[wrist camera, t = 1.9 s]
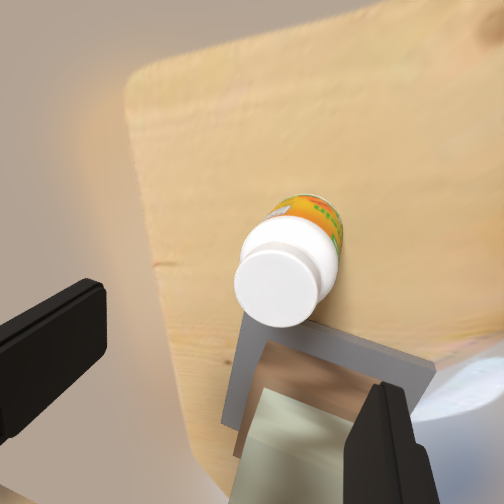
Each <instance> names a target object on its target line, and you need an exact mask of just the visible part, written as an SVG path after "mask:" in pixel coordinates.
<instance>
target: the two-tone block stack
mask: <svg viewBox="0 0 504 504" xmlns="http://www.w3.org/2000/svg"><path fill="white" fill-rule="evenodd" d="M380 382H382V381H381V380H378V379H376V378H373V377H370V376H367V375H365V374H362V373H359V372H356V371H354V370H351V369H348V368H345V367H343V366H340V365H337V364H334V363H332V362H329V361H326V360H323V359H321V358H318V357H315V356H312V355H310V354H307V353H304V352H301V351H299V350H296V349H293V348H290V347H288V346H285V345H282V344H279V343H277V342H274V341H271V340H267V342H266V345H265V347H264V350H263V352H262V354H261V357H260V359H259V362H258V364H257V367H256V369H255V371H254V374H253V378H252V382H251V386H250V390H249V394H248V398H247V402H246V406H245V410H244V414H243V418H242V421H241V425H240V429H239V433H238V437H237V441H236V445H235V449H234V453H233V456H235V457H238V458H240V459H241V460H240V463H239V467H238V471H237V474H236V478H235V482H234V485H233V489H232V492H231V496H230V500H229V503H228V504H343V452H344V445H345V441H346V439H347V437H348V435H349V433H350V431H351V428H352V426H353V424H354V422H355V420H356V418H357V416H358V414H359V412H360V410H361V408H362V406H363V404H364V402H365V400H366V398H367V396H368V393H369V391H370V389H371V387H372V385H373V384H378V385H379V384H380Z"/></svg>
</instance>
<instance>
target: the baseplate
mask: <svg viewBox="0 0 504 504" xmlns="http://www.w3.org/2000/svg"><path fill="white" fill-rule="evenodd" d="M267 340H271V341H274V342H277V343H279V344H282V345H285V346H288V347H290V348H293V349H296V350H299V351H301V352H304V353H307V354H310V355H312V356H315V357H318V358H321V359H323V360H326V361H329V362H332V363H334V364H337V365H340V366H343V367H345V368H348V369H351V370H354V371H356V372H359V373H362V374H365V375H367V376H370V377H373V378H376V379H378V380H381V381H385V382H387V383H390V384H393V385H396V386H399V387H402V388H403V389H404V392H405V397H406V401H407V406H408V410H409V415H411V413H412V412H413V410H414V408H415V407H416V405H417V403H418V402H419V400H420V398H421V397H422V395H423V393H424V392H425V390H426V388H427V387H428V385H429V383H430V382H431V380H432V378H433V377H434V375H435V374H436V369H435V366H434V363H433V362H430V361H427V360H424V359H421V358H418V357H415V356H413V355H410V354H407V353H404V352H401V351H398V350H395V349H392V348H389V347H386V346H383V345H380V344H377V343H374V342H371V341H369V340H366V339H363V338H360V337H357V336H354V335H351V334H348V333H345V332H342V331H339V330H336V329H333V328H330V327H327V326H324V325H322V324H319V323H316V322H313V321H310V320H307V319H306V320H304V321H303V322H301V323H299V324H297V325H295V326H291V327H284V328H280V327H272V326H268V325H265V324H262V323H260V322H258V321H256V320H255V319H253V318H252V317H251V316H249V315H248V314H247V313H246V312H245V311H244V315H243V320H242V324H241V329H240V334H239V338H238V343H237V348H236V353H235V357H234V362H233V367H232V372H231V376H230V381H229V386H228V391H227V395H226V400H225V405H224V409H223V414H222V419H221V424H223V425H226V426H228V427H230V428H232V429H235V430H237V431H239V429H240V425H241V421H242V418H243V414H244V410H245V406H246V402H247V398H248V394H249V390H250V386H251V382H252V378H253V374H254V371H255V369H256V367H257V364H258V362H259V359H260V357H261V354H262V352H263V350H264V347H265V345H266V342H267Z"/></svg>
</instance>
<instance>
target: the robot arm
mask: <svg viewBox="0 0 504 504" xmlns="http://www.w3.org/2000/svg"><path fill="white" fill-rule="evenodd" d="M106 304H107V303H106V290H105V289H104V286H103V284H102V283H100V282H97V281H94V280H91V279H88V278H85V279H82V280H80V281H78V282H77V283H75V284H73V285H71V286H70V287H68V288H66V289H64V290H63V291H61V292H59V293H57V294H55V295H54V296H52V297H50V298H48V299H46V300H45V301H43V302H41V303H39V304H38V305H36V306H34V307H32V308H31V309H29V310H27V311H25V312H24V313H22V314H20V315H18V316H16V317H14V318H13V319H11V320H9V321H7V322H6V323H4V324H2V325H0V445H2V444H3V443H4V442H5V441H6V440H7V439H8V438H13V437H14V436H16V435H17V434H19V433H20V432H21V431H22V430H23V429H24V428H25V427H26V426H27V425H28V424H30V423H31V422H32V421H33V420H34V419H35V418H36V417H37V416H38V415H39V414H40V413H41V412H43V410H45V409H46V408H47V407H48V406H49V405H50V404H51V403H52V402H53V401H54V400H55V399H57V398H58V397H59V396H60V395H61V394H62V393H63V392H64V391H65V390H66V389H67V388H68V387H70V386H71V385H72V384H73V383H74V382H75V381H76V380H77V379H78V378H79V377H80V376H82V375H83V374H84V373H85V372H86V371H87V370H88V369H89V368H90V367H91V366H92V365H93V364H95V362H97V361H98V360H99V359H100V358H101V357H102V356H103V355H104V353H105V351H106V349H107V308H106V307H107V306H106ZM0 504H37V503H35V502H33V501H31V500H29V499H27V498H26V497H24V496H22V495H20V494H18V493H16V492H14V491H12V490H10V489H8V488H6V487H4V486H2V485H0ZM343 504H440V502H439V498H438V494H437V490H436V486H435V482H434V478H433V474H432V470H431V466H430V462H429V458H428V455H427V452H426V449H425V448H424V447H423V446H422V445H420V444H417V443H416V442H415V437H414V433H413V428H412V424H411V419H410V415H409V410H408V406H407V401H406V397H405V392H404V389H403V388H402V387H399V386H396V385H393V384H390V383H387V382H385V381H382V382H380V384H379V385H378V384H373V385H372V387H371V389H370V391H369V393H368V396H367V398H366V400H365V402H364V404H363V406H362V408H361V410H360V412H359V414H358V416H357V418H356V420H355V422H354V424H353V426H352V428H351V431H350V433H349V435H348V437H347V439H346V441H345V445H344V452H343Z"/></svg>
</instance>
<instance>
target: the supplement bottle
mask: <svg viewBox="0 0 504 504" xmlns="http://www.w3.org/2000/svg"><path fill="white" fill-rule="evenodd" d="M342 237H343V225H342V221H341V218H340V215H339V213H338V212H337V210H336V209H335V208H334V206H333V205H332V204H330V203H329V202H328V201H327V200H325V199H323V198H321V197H319V196H316V195H312V194H298V195H294V196H291V197H289V198H287V199H285V200H283V201H282V202H281V203H280V204H278V205H277V206H276V207H275V208H274V209H273V210H272V211H271V212H270V213H269V214H268V215H267V216H266V217H265V218H264V219H263V220H262V221H261V222H260V223H259V224H258V225H257V226H256V227H255V228H254V229H253V230H252V231H251V232H250V234H249V235H248V237H247V238H246V240H245V241H244V243H243V246H242V249H241V253H240V266H239V267H238V269H237V271H236V274H235V279H234V290H235V294H236V297H237V300H238V302H239V304H240V305H241V307H242V308H243V309H244V311H245V312H246V313H247V314H248V315H249V316H251V317H252V318H253V319H255V320H256V321H258V322H260V323H262V324H265V325H268V326H272V327H280V328H284V327H291V326H295V325H297V324H299V323H301V322H303V321H304V320H306V319H307V318H308V317H309V316H310V315H311V314H312V312H313V311H314V309H315V307H316V304H317V303H319V302H320V301H321V300H323V299H324V298H325V297H326V296H327V295H328V293H329V292H330V291H331V289H332V288H333V286H334V283H335V281H336V277H337V273H338V267H339V258H340V251H341V244H342Z"/></svg>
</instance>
